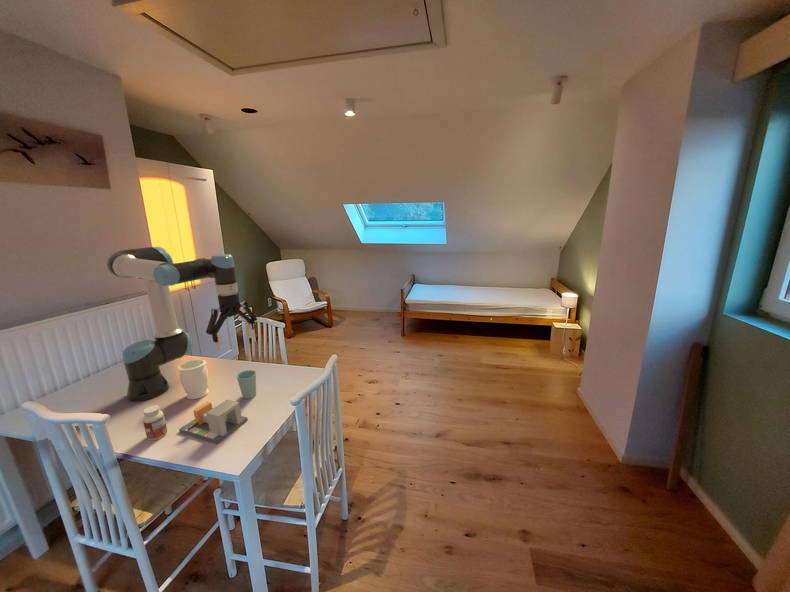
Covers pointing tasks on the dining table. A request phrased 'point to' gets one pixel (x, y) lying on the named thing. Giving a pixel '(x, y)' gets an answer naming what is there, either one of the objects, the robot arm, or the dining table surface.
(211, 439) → the board
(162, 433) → the pill bottle
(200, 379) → the jar
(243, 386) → the cup
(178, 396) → the dining table surface
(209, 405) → the plunger
